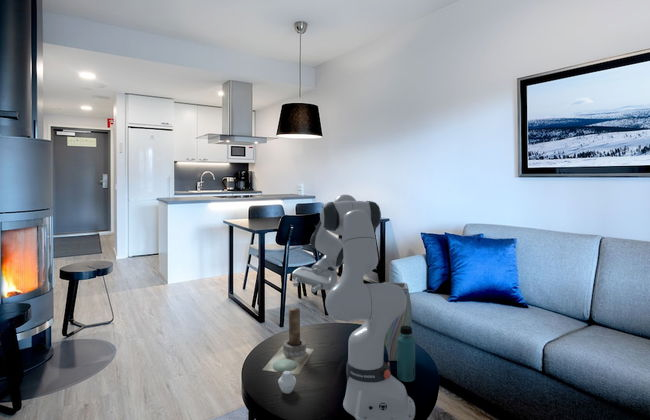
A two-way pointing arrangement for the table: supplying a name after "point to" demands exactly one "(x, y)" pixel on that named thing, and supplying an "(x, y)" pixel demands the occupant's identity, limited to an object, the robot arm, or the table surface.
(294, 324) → the walnut peg
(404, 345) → the beverage bottle
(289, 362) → the sage pad
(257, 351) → the table surface
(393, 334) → the vase
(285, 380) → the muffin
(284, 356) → the birch board
